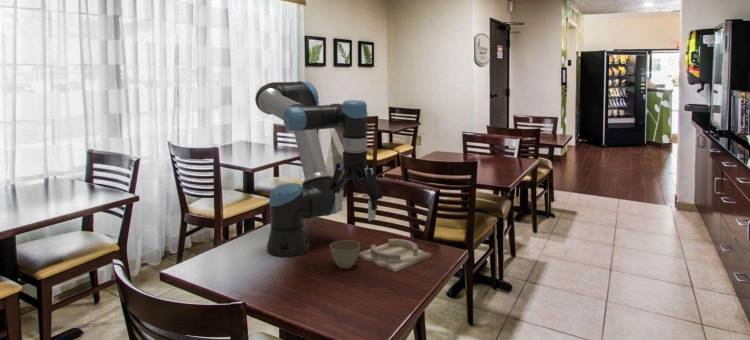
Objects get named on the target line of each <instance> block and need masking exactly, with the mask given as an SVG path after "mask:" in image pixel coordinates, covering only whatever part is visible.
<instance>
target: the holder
mask: <svg viewBox="0 0 750 340" xmlns="http://www.w3.org/2000/svg"><path fill="white" fill-rule="evenodd" d="M357 258H360V259H362V260H365V261H366V262H370V263H372V264H375V265H377V266H379V267H382V268H385V269H387V270H389V271H392V272H393V273H396V272H398V271H400V270H403V269H405V268H408V267H410V266H412V265H415V264H417V263H420V262H422V261H425V260H427V259H429V258H432V253H431V252H427V251H425V250H421V249H419V248H418V244H416V243H415V242H413V241H412V240H407V239H402V238H388V241H387V243H384V244H381V245H378V246H376V244H371V245H370V248H369V249H366V250H363V251H359V255H358V257H357Z"/></svg>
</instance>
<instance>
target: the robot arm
mask: <svg viewBox="0 0 750 340" xmlns="http://www.w3.org/2000/svg"><path fill="white" fill-rule="evenodd" d="M254 99H255V105H256V106H257V108H258V109H259V110H260V112H262V113H264V114H266V115H273V116H275V117H277V119H278V118H279V119H280V120H281V121H283V124H284V127H285V128H286V130H287V131H289V132H293V133H294V138H295V142H296V146H297V151H298V155H299V158H300V163H301V167H302V172H303V175H304V180H303V182H302V184H300V183H296V182H293V183H284V184H280V185H278V186H275V187H274V188H272V189H271V191H270V192H269V203H268V205H269V211H270V212H269V215H270V233H269V236H268V240H267V243H266V252H267V253H268V254H269V255H271V256H274V257H283V258H284V257H286V258H287V257H295V256H299V255H303V254H305V253H307V252H308V251H309V250H310V241H309V238H308V235H307V233H306V232H307V231H306V230H305V226H304V225H305V223H304V221H305V220H307V219H314V218H320V217H325V216H326V217H329V216H331V215H335V214H337V213H339V212H342V211H343V203H344V202H343V198H344V195H343V189H342V188H343V187H344V186H345V185H346V183H347V182H348V181H349V180H350V181H351V180H352V181H355V182H357V181H358V183H360V184H361V186H362V188H363V189H364V191H365V193H366V194H367V196H368V198H369V199H368V203H367V209H368V210H367V213H368V215H367V219H368V221H369V222H371V221H373V220H375V219H376V211H377V209H378V200H380V199H383V198H384V195H383V193H382V190H381V188H380V187H381V186H380V185H379V182H378V179H377V176H376V172H375V168H374V167H370V168H367V167H366V165H367V162H368V159H367V158H368V157H367V156H368V154H367V153H368V151H366V150H367V149H368V111H367V110H368V109H367V108H368V107H367V103H366V101H364V100H359V99H358V100H355V99H353V100H352V99H350V100H344V101H343V102H342V103H331V104H326V105H320V104H319V103H320V101H319V99H320V98H319V94H318V90H317V89H316V87H315V85H314V84H312V83H311V82H309V81H301V80H298V81H287V82H286V81H280V82H279V81H275V82H268V83H266V84H264V85H262V86H261V87H260V88H259V89H258V90H257V91H256V94H255V97H254ZM327 129H342V150H343V152H342V162H338V163H336V164H335V170H334V173H333V176H332V175H330V174H329V173H328V171H327V166H326V162H325V159H324V153H323V150H322V147H321V142H320V138H319V135H318V130H327ZM343 171H344V173H343Z"/></svg>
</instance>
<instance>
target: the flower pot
mask: <svg viewBox="0 0 750 340" xmlns="http://www.w3.org/2000/svg"><path fill="white" fill-rule="evenodd" d="M329 248H330V249H329V250H330V254H331V256H332V258H333V261H334V262H335V265H336V266H337V267H338V268H340V269H351V268H353V266H354V265H355V263H356V261H357V260H358V258H359V257H358V255H359V253H360V252H361V251H360V250H361V244H360V242H357V241H355V240H348V239H347V240H337V241H334V242H332V243H330V244H329Z"/></svg>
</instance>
